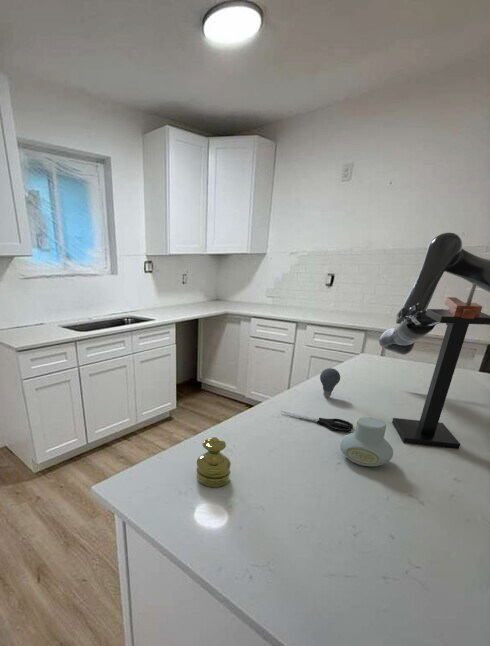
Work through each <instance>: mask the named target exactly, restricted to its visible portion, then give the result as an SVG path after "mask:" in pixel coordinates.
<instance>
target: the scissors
mask: <svg viewBox="0 0 490 646" xmlns="http://www.w3.org/2000/svg"><path fill="white" fill-rule="evenodd" d="M280 412H281V413H285V414H288V415H291V416H296V417H299V418H301V419H305V420H309V421H313V422H316V424H317V425H321V426H323V427H326V428H327V429H328V430H330V431H333V432H337V433H345V434H346V433H352V430H353V428H354V424H353V423H351V422H350V421H348V420H344V419H341V418H326V417H325V418H324V417H318V418H317V417H314V416H313V417H312V416H309V415H302V414H297V413H293V412H288V411H283V410H280Z"/></svg>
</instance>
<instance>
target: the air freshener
mask: <svg viewBox="0 0 490 646" xmlns="http://www.w3.org/2000/svg"><path fill="white" fill-rule="evenodd" d="M386 430H387V424H386V423H385V421H383V420H382V419H379V418H377V417H371V416H363V417H362V416H361V417H360V418H358V419H357V421H356V424H355V429H354V431H353V432H349V433H348V434H346V435H345V436H344V437H342V438H341V441H340V444H339V447H340V451H341V452H342V454H343V456H344V457H345V458H347V459H348V460H349V461H351V462H353V463H354V464H356V465H359V466H363V467H380V466H383V465H386V464H387V463H389V462H390V461H391V460H392V458H393V456H394V449H393V447H392V445H391V443H390V442H388V440H386V438H385V434H386Z"/></svg>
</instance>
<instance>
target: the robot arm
mask: <svg viewBox="0 0 490 646" xmlns="http://www.w3.org/2000/svg"><path fill="white" fill-rule="evenodd" d="M425 251H426V252H425V257H424V260H423V264H422V266H421V268H420V271H419V273H418V276H417V278H416V280H415V282H414V284H413V286H412V288H411V289H410V291H409V293H408V295H407V297H406V298H405V300H404V302H403V304H402V306H401V308H400V310H399V311H398V313H396V319H395V320H396V322H395V323H396V324H397V325H396V326H393V327H390V328H388V329H386V330H385V331H384V332H383V333H382V334H381V335H380V337H379V339H378V344H379V346H380V348H382V349H384V350H386V351H390V352H393V353H396V354H399V355H401V356H406V355H408V354H409V353H411V352H412V351H413V349H414V348H415V345H416V341H418V340H420V339H422V338H423V337H425V336H426V335H428V334H429V333H430V332H432V330H433V329H434V328H435V327H436V325H439V324H440V323H439V322H437V321H435V320H434V319H432V318H430V317H428V316H426V311H427V309H429V306H430V304H431V301H432V299H433V296H434V293H435V291H436V289H437V287H438V284H439V283H440V280H441V278H442V277H443V275H444V273H448V274H451V275H452V276H456V277H459V278H461V279H463V280H465V281H467V282H469V283H470V284H471V285H472V284H474V283H475V284H476V287H478V288H480V289H482V290H483V291H486V292H488V293H489V294H490V259H489V258H484V257H480V256H478V255H475V254H474V253H472V252H470V251H468V250H466V249H464V248H463V240H462V238H461V237H460V235H458V234H457V233H455V232H443V233H441V234H438V235H437V236H435V237H434V238H433V239H432V240H431V241H430V242H429V243H428V245H427V248H426V250H425ZM447 325H448V323H445V326H447Z"/></svg>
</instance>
